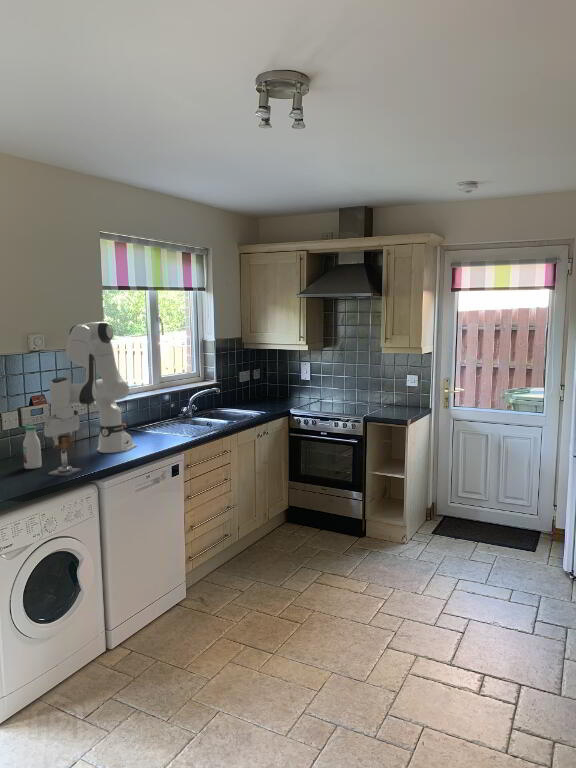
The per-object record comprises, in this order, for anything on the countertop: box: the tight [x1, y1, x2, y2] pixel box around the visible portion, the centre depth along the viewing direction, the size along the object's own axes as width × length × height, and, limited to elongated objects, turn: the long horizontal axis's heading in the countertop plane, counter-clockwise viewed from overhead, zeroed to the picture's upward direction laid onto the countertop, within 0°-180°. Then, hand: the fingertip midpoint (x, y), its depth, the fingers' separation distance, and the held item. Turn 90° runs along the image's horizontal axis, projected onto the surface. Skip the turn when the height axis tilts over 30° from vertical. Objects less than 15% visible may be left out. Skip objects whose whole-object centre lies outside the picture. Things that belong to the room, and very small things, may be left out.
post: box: [48, 449, 82, 477], centre depth 263 cm, size 10×10×10 cm
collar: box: [52, 434, 74, 450], centre depth 262 cm, size 6×6×5 cm
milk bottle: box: [22, 425, 43, 470], centre depth 275 cm, size 8×8×20 cm
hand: (62, 443), depth 262 cm, fingers closed on collar, 6 cm apart
